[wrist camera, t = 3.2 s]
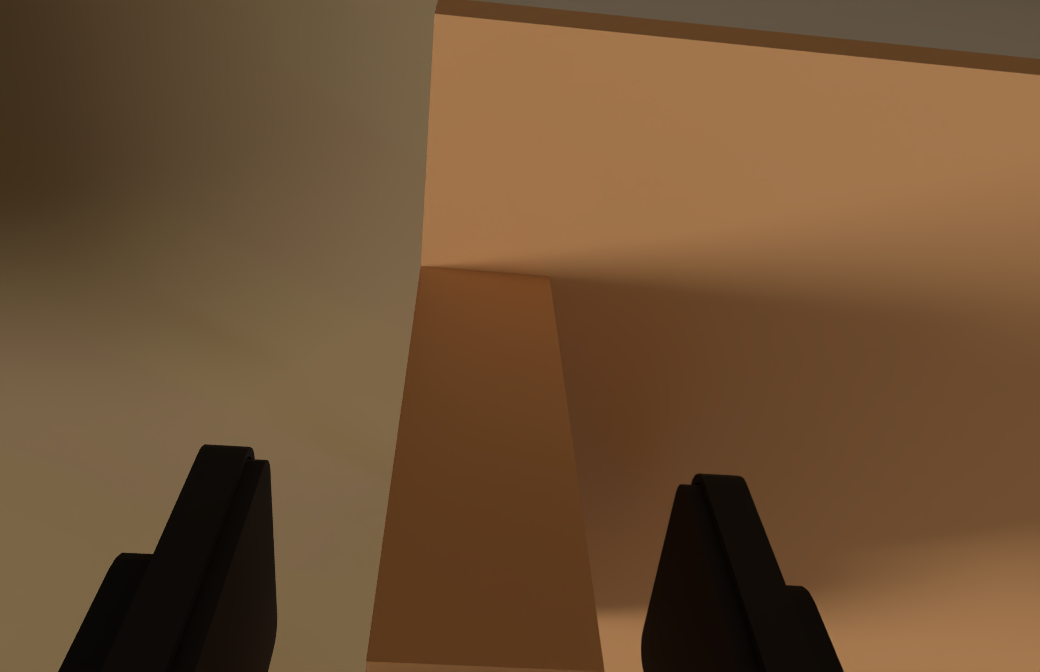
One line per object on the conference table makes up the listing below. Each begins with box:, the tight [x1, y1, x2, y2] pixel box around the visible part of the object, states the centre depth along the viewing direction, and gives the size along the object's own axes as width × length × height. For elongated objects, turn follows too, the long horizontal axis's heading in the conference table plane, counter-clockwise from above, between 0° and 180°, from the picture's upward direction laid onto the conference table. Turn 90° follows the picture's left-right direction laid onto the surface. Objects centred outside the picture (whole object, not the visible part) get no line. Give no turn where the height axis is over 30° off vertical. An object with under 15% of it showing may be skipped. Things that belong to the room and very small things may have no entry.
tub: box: [472, 0, 1040, 59], centre depth 17 cm, size 12×16×7 cm
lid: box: [366, 0, 1040, 672], centre depth 12 cm, size 12×16×8 cm
